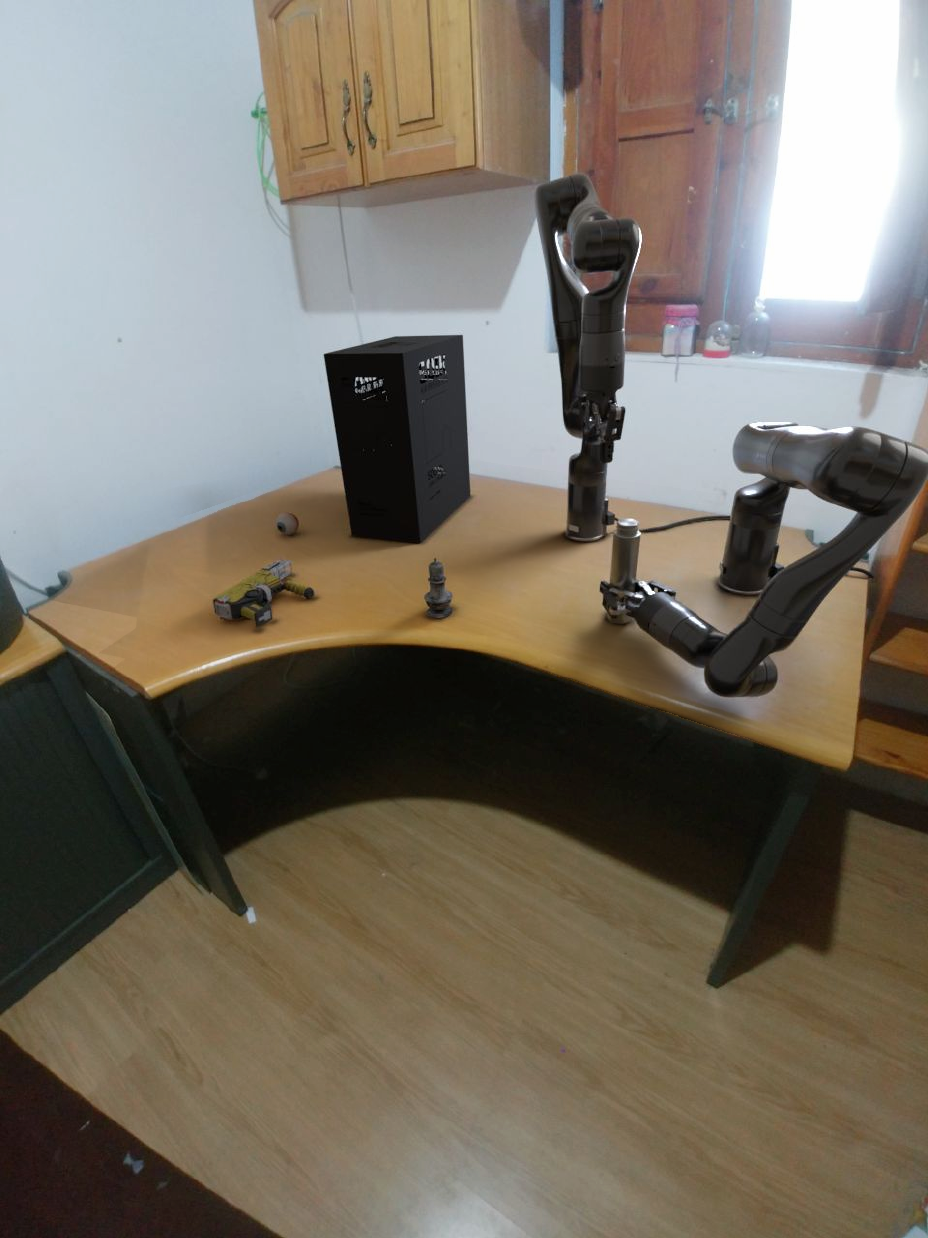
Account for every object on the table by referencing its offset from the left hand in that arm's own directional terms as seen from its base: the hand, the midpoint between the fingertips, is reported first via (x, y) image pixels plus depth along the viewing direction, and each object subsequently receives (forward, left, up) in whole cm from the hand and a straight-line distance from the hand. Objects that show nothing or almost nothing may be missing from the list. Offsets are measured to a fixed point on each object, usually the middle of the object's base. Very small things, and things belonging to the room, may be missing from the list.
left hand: (599, 457), depth 111 cm
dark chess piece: (+31, -8, -29) cm, 43 cm away
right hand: (0, +7, -22) cm, 24 cm away
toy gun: (+61, -29, -29) cm, 73 cm away
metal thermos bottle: (0, +10, -29) cm, 31 cm away
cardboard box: (+18, -65, -29) cm, 73 cm away
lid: (0, 0, +3) cm, 3 cm away
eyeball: (+53, -68, -29) cm, 91 cm away
